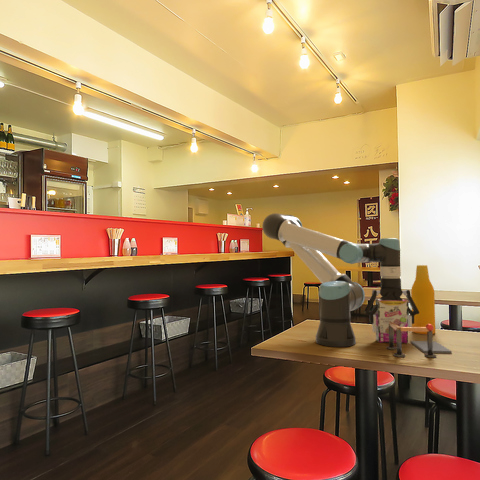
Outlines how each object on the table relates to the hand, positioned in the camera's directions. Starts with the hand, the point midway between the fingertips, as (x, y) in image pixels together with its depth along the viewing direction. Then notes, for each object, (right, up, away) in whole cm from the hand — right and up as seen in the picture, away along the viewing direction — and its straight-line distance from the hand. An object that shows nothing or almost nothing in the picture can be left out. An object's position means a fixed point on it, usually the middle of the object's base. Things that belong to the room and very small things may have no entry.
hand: (392, 332), depth 153 cm
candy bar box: (0, -4, 0) cm, 4 cm away
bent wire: (0, -3, -16) cm, 17 cm away
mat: (+10, -3, -10) cm, 15 cm away
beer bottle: (+20, -4, +17) cm, 26 cm away
